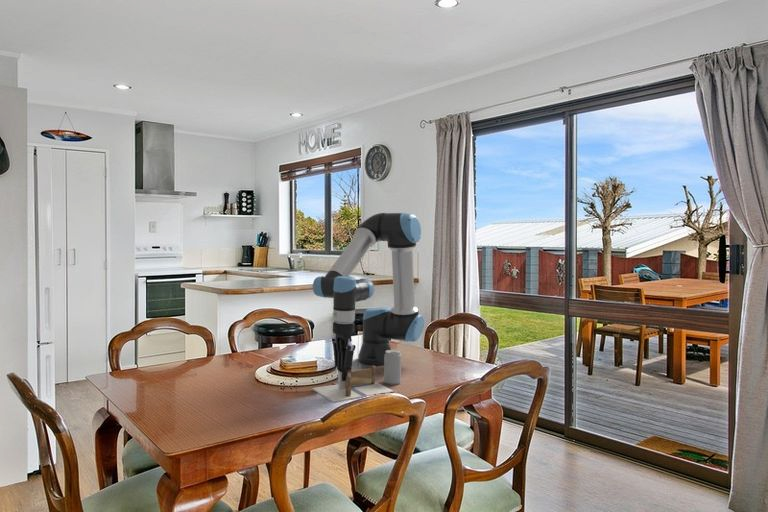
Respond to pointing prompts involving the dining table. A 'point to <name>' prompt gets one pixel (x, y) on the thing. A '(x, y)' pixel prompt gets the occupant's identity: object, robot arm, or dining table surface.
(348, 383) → the fence panel
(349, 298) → the robot arm
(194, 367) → the dining table surface
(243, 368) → the dining table surface
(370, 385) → the card
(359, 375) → the fence fixed
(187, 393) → the dining table surface
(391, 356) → the beverage can
